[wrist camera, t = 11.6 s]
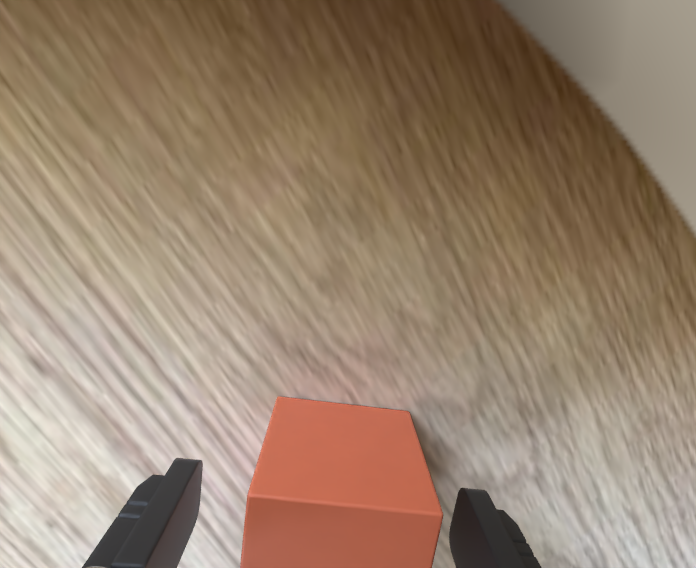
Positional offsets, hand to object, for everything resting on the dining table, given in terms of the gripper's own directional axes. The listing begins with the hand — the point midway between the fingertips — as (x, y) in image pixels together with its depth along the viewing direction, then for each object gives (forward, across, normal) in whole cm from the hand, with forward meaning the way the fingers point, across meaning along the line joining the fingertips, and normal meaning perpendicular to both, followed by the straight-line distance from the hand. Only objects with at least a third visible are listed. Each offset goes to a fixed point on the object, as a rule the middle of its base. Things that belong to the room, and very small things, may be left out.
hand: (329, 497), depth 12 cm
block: (+2, 0, 0) cm, 2 cm away
